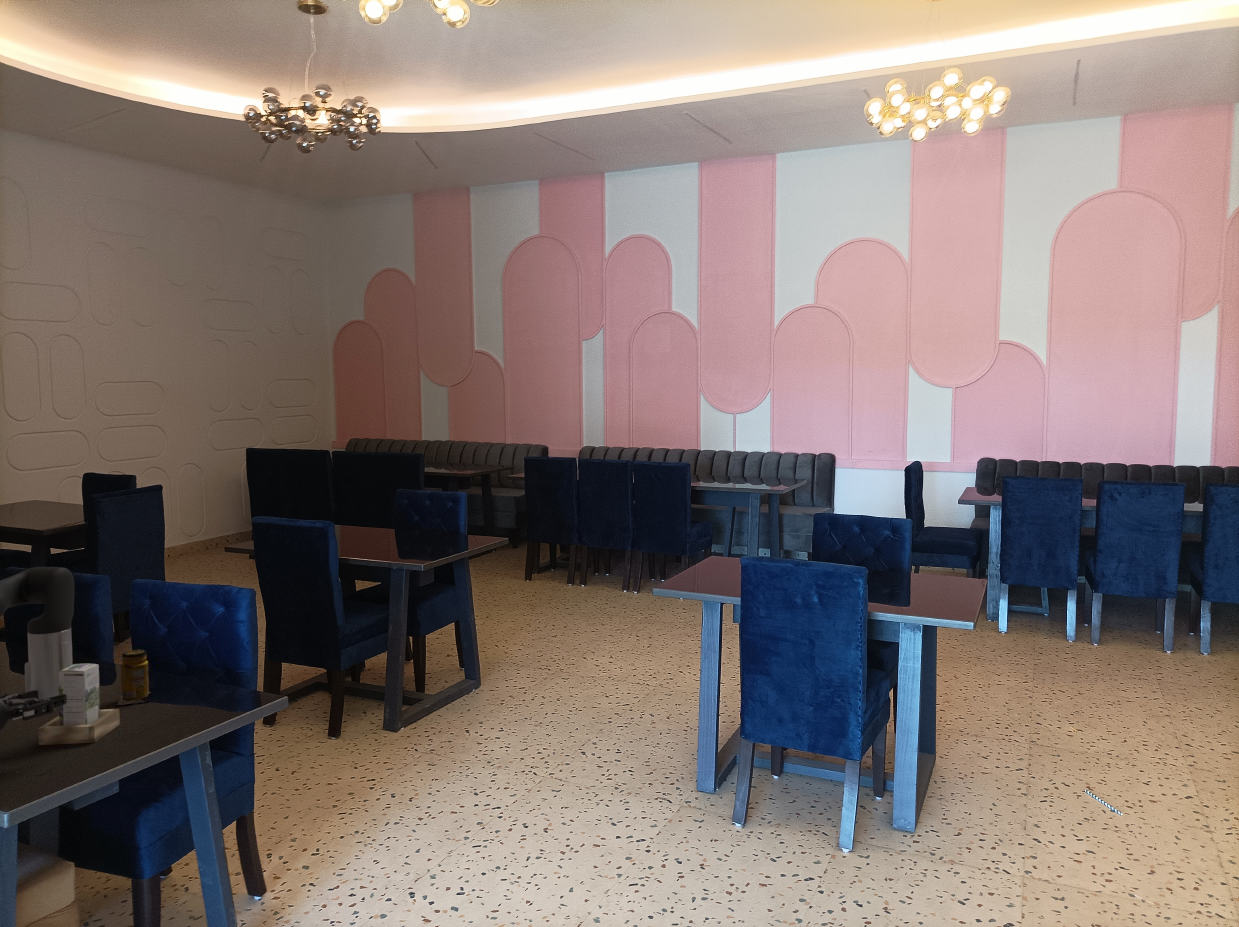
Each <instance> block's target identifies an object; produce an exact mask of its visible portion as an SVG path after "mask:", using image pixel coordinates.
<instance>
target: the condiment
mask: <svg viewBox="0 0 1239 927" xmlns="http://www.w3.org/2000/svg"><path fill="white" fill-rule="evenodd" d="M121 657H122V659H121V661H122V663H121V665H120V683H121V684H120V685H121V686H120V689H121V690H120V692H121V693H120V694H121V695H120V696H121V697H122V699H123V700H125V701H131V700H138V699H142V698H144V697H147V696H148V694H149V693H150V689H149V688H150V687H149V684H150V682H149V681H150V680H149V661H148V660H147V651H146V650H144V649H133V650H127V651H124V652H123V653H122V656H121Z"/></svg>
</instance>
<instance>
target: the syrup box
mask: <svg viewBox="0 0 1239 927" xmlns="http://www.w3.org/2000/svg"><path fill="white" fill-rule="evenodd" d="M99 665H100V664H96V663H74V664H73V665H72V666H70V667H67V668H65V669H63V670H61V671H59V695H60V694H66V695H67V703H66V704H65V705H62V706H58V716H59V726H69V725H91V724H93V723H94V722H96V721H97V720H99V719H100V713H99V710H100V670H99V668H100V666H99Z"/></svg>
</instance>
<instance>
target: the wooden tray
mask: <svg viewBox="0 0 1239 927" xmlns="http://www.w3.org/2000/svg"><path fill="white" fill-rule="evenodd" d="M99 713H100V719H99V720H97V721H96V722H94V723H93V724H91V725H69V726H59V715H57V716H56V717H55V718H53V719H51V720H50V721H48V722H46V723H45V724H43V725H42V726H40V727H39V728H38V729H37V732H38V733H37V734H38V745H39V746H47V745H48V746H49V745H65V744H66V745H68V744H70V745H71V744H92V743H96V742H97V741H99V740H100V739H102V738H104V737H105V736H106V735H107V734H108V733H110V732H111V731H113V730H114V729H115V728H117V727H118V726H119V725H121V721H120V715H121V714H120V708H109V709H108V708H107V709H106V708H104V709H99Z"/></svg>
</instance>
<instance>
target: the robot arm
mask: <svg viewBox="0 0 1239 927" xmlns="http://www.w3.org/2000/svg"><path fill="white" fill-rule="evenodd" d="M29 604H30V605H31V604H38V605H40V604H41V605H42V604H43V605H44V610H43V613H42V614H41V615H40V616H37V617H34V618H31V619H30V620H29V621H28V622H27V627H26V628H27V651H28V652H27V653H28V661H27V662H25V663H24V681H25V683H24V684H25V685H24V686H25V692H22V693H13V694H9V693H4V694H2V695H1V694H0V731H2V730H3V729H4V728H5V726H6V725H7V722H8V721H9V720H10V721H14V720H19V719H21V718H22V721H28V720H32V719H36V718H38V717H43V716H46V715H50V714H53V713H54V712H55V710H54V709H55V708H59V706H62V705H65V704H66V703H67V695H66V694H60V695H59V671H61V670H63V669H65V668H67V667H70V666H72V665H74V664H73V643H72V640H73V638H72V620H73V617H74V612H75V579H74V576H73V573H72V572H71V571H70V569H68V568H66V567H62V566H35V567H31V568H28V569H25V570H22V571H20V572H17V573H16V574H14V575H11V576H9V577H6V578H3V579H1V580H0V618H1V617H2V616H3V615H4V614H5V613H6V611H7V610H8V609H10V608H14V607H17V606H22V605H29ZM29 703H31V705H29Z"/></svg>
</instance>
